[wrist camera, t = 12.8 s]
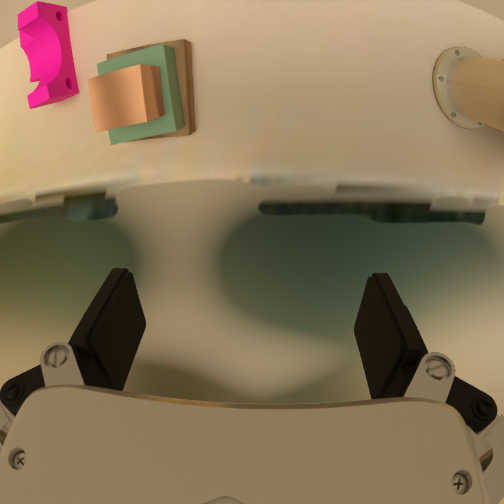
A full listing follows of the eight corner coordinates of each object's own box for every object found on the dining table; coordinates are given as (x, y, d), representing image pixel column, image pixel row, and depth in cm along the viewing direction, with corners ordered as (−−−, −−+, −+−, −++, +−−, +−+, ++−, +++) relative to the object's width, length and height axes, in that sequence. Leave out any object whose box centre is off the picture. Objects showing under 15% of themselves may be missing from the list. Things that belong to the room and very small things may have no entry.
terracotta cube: (159, 66, 26) (140, 64, 21) (165, 114, 29) (146, 121, 24) (113, 77, 26) (87, 79, 22) (119, 123, 29) (95, 132, 24)
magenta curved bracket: (36, 25, 26) (5, 23, 20) (67, 7, 26) (37, 1, 19) (49, 107, 34) (18, 115, 28) (79, 92, 33) (49, 98, 27)
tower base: (191, 43, 31) (184, 39, 27) (196, 129, 37) (189, 135, 34) (120, 55, 31) (106, 54, 28) (127, 137, 38) (115, 143, 34)
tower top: (173, 47, 28) (163, 43, 25) (185, 125, 33) (176, 131, 30) (112, 64, 29) (97, 63, 25) (125, 137, 34) (111, 144, 30)
